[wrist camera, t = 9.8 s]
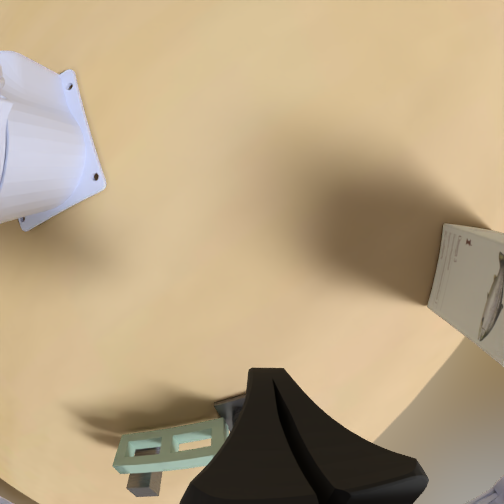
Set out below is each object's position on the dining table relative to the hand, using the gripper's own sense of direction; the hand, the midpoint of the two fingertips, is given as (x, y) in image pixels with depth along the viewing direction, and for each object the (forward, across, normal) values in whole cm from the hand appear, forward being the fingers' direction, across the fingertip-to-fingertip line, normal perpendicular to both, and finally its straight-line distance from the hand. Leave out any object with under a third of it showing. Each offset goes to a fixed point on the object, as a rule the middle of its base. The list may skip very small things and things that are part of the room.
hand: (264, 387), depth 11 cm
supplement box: (+10, -18, -3) cm, 21 cm away
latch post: (+10, +8, +18) cm, 22 cm away
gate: (+9, +5, +13) cm, 17 cm away
